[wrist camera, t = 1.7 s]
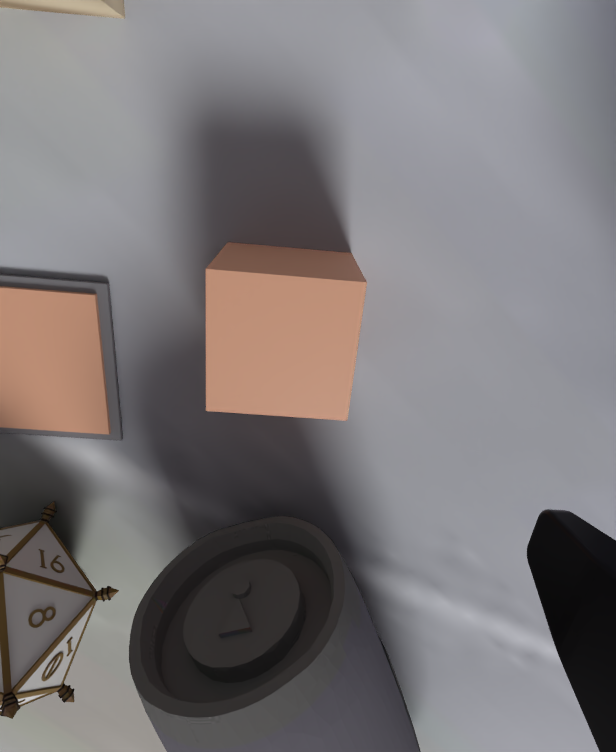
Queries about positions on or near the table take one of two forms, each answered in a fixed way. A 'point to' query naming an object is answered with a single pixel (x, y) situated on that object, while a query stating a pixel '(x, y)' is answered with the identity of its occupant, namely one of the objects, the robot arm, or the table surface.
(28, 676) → the game die
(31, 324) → the tile
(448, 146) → the table surface
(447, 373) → the table surface
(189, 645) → the bluetooth speaker
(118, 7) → the maple base block
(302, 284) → the terracotta cube
